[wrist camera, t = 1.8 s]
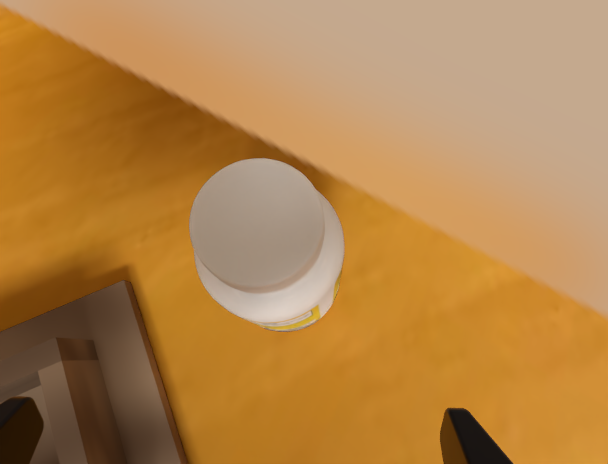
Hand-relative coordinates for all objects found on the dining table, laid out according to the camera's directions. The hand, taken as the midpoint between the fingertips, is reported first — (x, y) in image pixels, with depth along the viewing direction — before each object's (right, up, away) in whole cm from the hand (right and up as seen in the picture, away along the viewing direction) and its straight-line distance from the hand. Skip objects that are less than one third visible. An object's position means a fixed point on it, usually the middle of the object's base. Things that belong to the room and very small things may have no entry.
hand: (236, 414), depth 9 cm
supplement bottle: (+1, +2, +13) cm, 13 cm away
